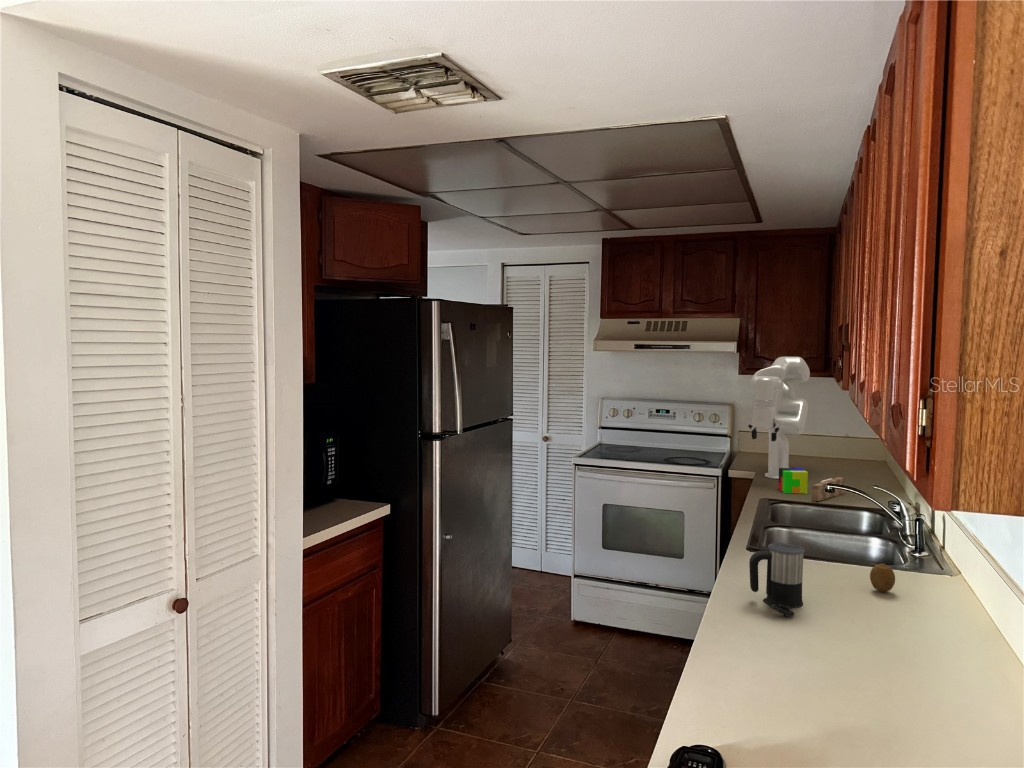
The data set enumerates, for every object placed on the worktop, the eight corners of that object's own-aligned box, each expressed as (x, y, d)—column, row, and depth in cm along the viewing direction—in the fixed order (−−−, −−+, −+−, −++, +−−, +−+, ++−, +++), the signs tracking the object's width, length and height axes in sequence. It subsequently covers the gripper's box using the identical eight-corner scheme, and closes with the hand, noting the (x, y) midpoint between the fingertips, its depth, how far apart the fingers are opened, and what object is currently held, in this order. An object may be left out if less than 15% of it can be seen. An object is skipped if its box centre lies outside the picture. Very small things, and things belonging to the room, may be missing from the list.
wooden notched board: (838, 492, 324) (838, 475, 323) (843, 493, 322) (844, 476, 321) (811, 501, 306) (812, 483, 306) (817, 502, 304) (818, 484, 304)
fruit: (880, 596, 193) (881, 567, 193) (864, 588, 199) (865, 560, 199) (900, 594, 195) (901, 566, 194) (883, 587, 201) (884, 559, 200)
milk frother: (791, 595, 195) (793, 541, 194) (825, 617, 179) (827, 559, 178) (743, 598, 193) (744, 544, 192) (772, 620, 177) (774, 562, 176)
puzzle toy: (800, 489, 330) (801, 468, 330) (807, 494, 321) (807, 472, 320) (778, 489, 331) (778, 467, 331) (784, 493, 322) (784, 471, 321)
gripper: (743, 403, 338) (743, 438, 339) (778, 405, 325) (777, 442, 326) (751, 402, 343) (750, 437, 344) (786, 404, 330) (785, 441, 332)
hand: (763, 439), depth 335 cm, fingers open, 9 cm apart
